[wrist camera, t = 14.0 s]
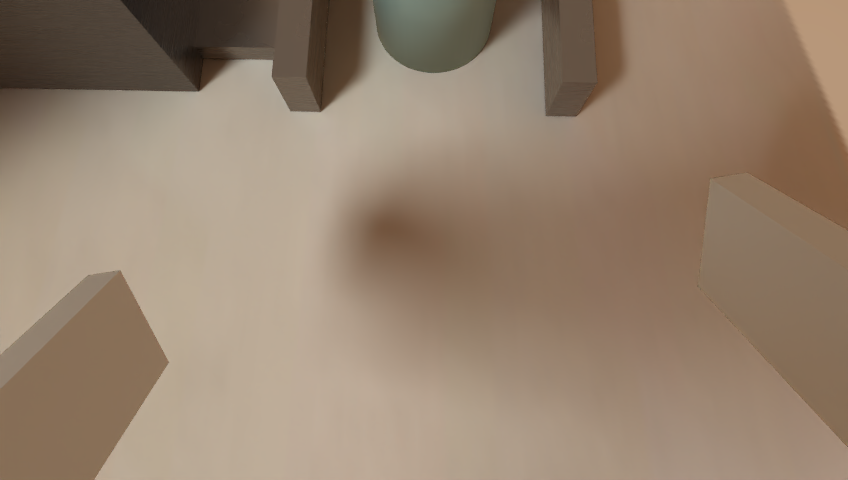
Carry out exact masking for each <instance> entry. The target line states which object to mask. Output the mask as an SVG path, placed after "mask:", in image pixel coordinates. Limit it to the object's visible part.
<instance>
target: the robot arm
mask: <svg viewBox="0 0 848 480" xmlns="http://www.w3.org/2000/svg"><path fill="white" fill-rule="evenodd" d="M698 287H699V288H700V289H701V290H702V291H703V292H704V293H705V295H706V296H707V297H708V298H709V299H710V300H711V301H712V302H713V303H714V304H715V305H716V306H717V307H718V309H719V310H720V311H721V312H722V313H723V314H724V315H725V316H726V317H727V318H728V319H729V320H730V321H731V322H732V324H733V325H734V326H735V327H736V328H737V329H738V330H739V331H740V332H741V333H742V334H743V335H744V336H745V337H746V339H747V340H748V341H749V342H750V343H751V344H752V345H753V346H754V347H755V348H756V349H757V350H758V351H759V352H760V354H761V355H762V356H763V357H764V358H765V359H766V360H767V361H768V362H769V363H770V364H771V365H772V366H773V368H774V369H775V370H776V371H777V372H778V373H779V374H780V375H781V376H782V377H783V378H784V379H785V380H786V381H787V383H788V384H789V385H790V386H791V387H792V388H793V389H794V390H795V391H796V392H797V393H798V394H799V395H800V396H801V398H802V399H803V400H804V401H805V402H806V403H807V404H808V405H809V406H810V407H811V408H812V409H813V410H814V411H815V413H816V414H817V415H818V416H819V417H820V418H821V419H822V420H823V421H824V422H825V423H826V424H827V425H828V426H829V428H830V429H831V430H832V431H833V432H834V433H835V434H836V435H837V436H838V437H839V438H840V439H841V440H842V442H843V443H844V444H845V445H846V446H847V447H848V230H846V229H845V228H843V227H841V226H839V225H838V224H836V223H834V222H833V221H831V220H829V219H827V218H826V217H824V216H822V215H820V214H819V213H817V212H815V211H813V210H812V209H810V208H808V207H806V206H805V205H803V204H801V203H799V202H798V201H796V200H794V199H792V198H791V197H789V196H787V195H786V194H784V193H782V192H780V191H779V190H777V189H775V188H773V187H772V186H770V185H768V184H766V183H765V182H763V181H761V180H759V179H758V178H756V177H754V176H752V175H751V174H749V173H742V174H735V175H729V176H722V177H716V178H710V185H709V194H708V203H707V211H706V220H705V228H704V237H703V246H702V254H701V263H700V272H699V280H698ZM168 363H169V362H168V360H167V358H166V356H165V354H164V352H163V350H162V348H161V347H160V345H159V343H158V341H157V339H156V337H155V335H154V333H153V331H152V330H151V328H150V326H149V324H148V322H147V320H146V318H145V316H144V314H143V312H142V311H141V309H140V307H139V305H138V303H137V301H136V299H135V297H134V295H133V294H132V292H131V290H130V288H129V286H128V284H127V282H126V280H125V278H124V277H123V275H122V273H121V271H120V270H119V271H112V272H106V273H100V274H93V275H88V276H87V277H86V278H85V279H84V280H82V281H81V282H80V283H79V284H78V285H77V286H76V287H75V288H74V289H73V290H71V291H70V292H69V293H68V294H67V295H66V296H65V297H64V298H63V299H62V300H60V301H59V302H58V303H57V304H56V305H55V306H54V307H53V308H52V309H51V310H49V311H48V312H47V313H46V314H45V315H44V316H43V317H42V318H41V319H40V320H38V321H37V322H36V323H35V324H34V325H33V326H32V327H31V328H30V329H29V330H27V331H26V332H25V333H24V334H23V335H22V336H21V337H20V338H19V339H18V340H16V341H15V342H14V343H13V344H12V345H11V346H10V347H9V348H8V349H7V350H5V351H4V352H3V353H2V354H1V355H0V480H94V479H95V477H96V476H97V474H98V473H99V471H100V469H101V468H102V466H103V465H104V463H105V462H106V460H107V458H108V457H109V455H110V454H111V452H112V451H113V449H114V447H115V446H116V444H117V443H118V441H119V440H120V438H121V436H122V435H123V433H124V432H125V430H126V429H127V427H128V426H129V424H130V422H131V421H132V419H133V418H134V416H135V415H136V413H137V411H138V410H139V408H140V407H141V405H142V404H143V402H144V400H145V399H146V397H147V396H148V394H149V393H150V391H151V389H152V388H153V386H154V385H155V383H156V382H157V380H158V379H159V377H160V375H161V374H162V372H163V371H164V369H165V368H166V366H167V364H168Z"/></svg>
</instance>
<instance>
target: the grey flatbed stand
mask: <svg viewBox="0 0 848 480" xmlns="http://www.w3.org/2000/svg"><path fill="white" fill-rule="evenodd" d="M541 1H542V27H543V53H544V80H545V106H546V116H577V114H578V112H579V111H580V109H581V108H582V106H583V104H584V103H585V101H586V100H587V98H588V97H589V95H590V93H591V92H592V90H593V89H594V87H595V85H596V84H597V70H596V55H595V39H594V24H593V9H592V0H541ZM328 7H329V0H0V88H40V89H95V90H151V91H199V85H200V78H201V71H202V63H203V58H209V59H266V60H273V69H272V78H273V80H274V82H275V84H276V85H277V87H278V89H279V91H280V93H281V95H282V96H283V98H284V100H285V102H286V104H287V105H288V107H289V109H290V111H311V112H321V99H322V86H323V73H324V60H325V47H326V34H327V21H328Z"/></svg>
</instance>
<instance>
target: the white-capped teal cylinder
mask: <svg viewBox="0 0 848 480" xmlns="http://www.w3.org/2000/svg"><path fill="white" fill-rule="evenodd" d="M495 4H496V0H373V6H374V13H375V19H376V26H377V32H378V36H379V39H380V41H381V43H382V45H383V47H384V48H385V50H386V51H387V52H388V53H389V54H390V56H392V57H393V58H394V59H395V60H396V61H398V62H399V63H401V64H402V65H404V66H406V67H408V68H411V69H414V70H417V71H421V72H428V73H439V72H447V71H451V70H454V69H457V68H459V67H461V66H463V65H465V64H467V63H468V62H470V61H471V60H473V59H474V58H475V57H476V56H477V55H478V54H479V53H480V51H481V50H482V49H483V47H484V46H485V44H486V42H487V40H488V37H489V33H490V29H491V24H492V19H493V14H494V9H495Z"/></svg>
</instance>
